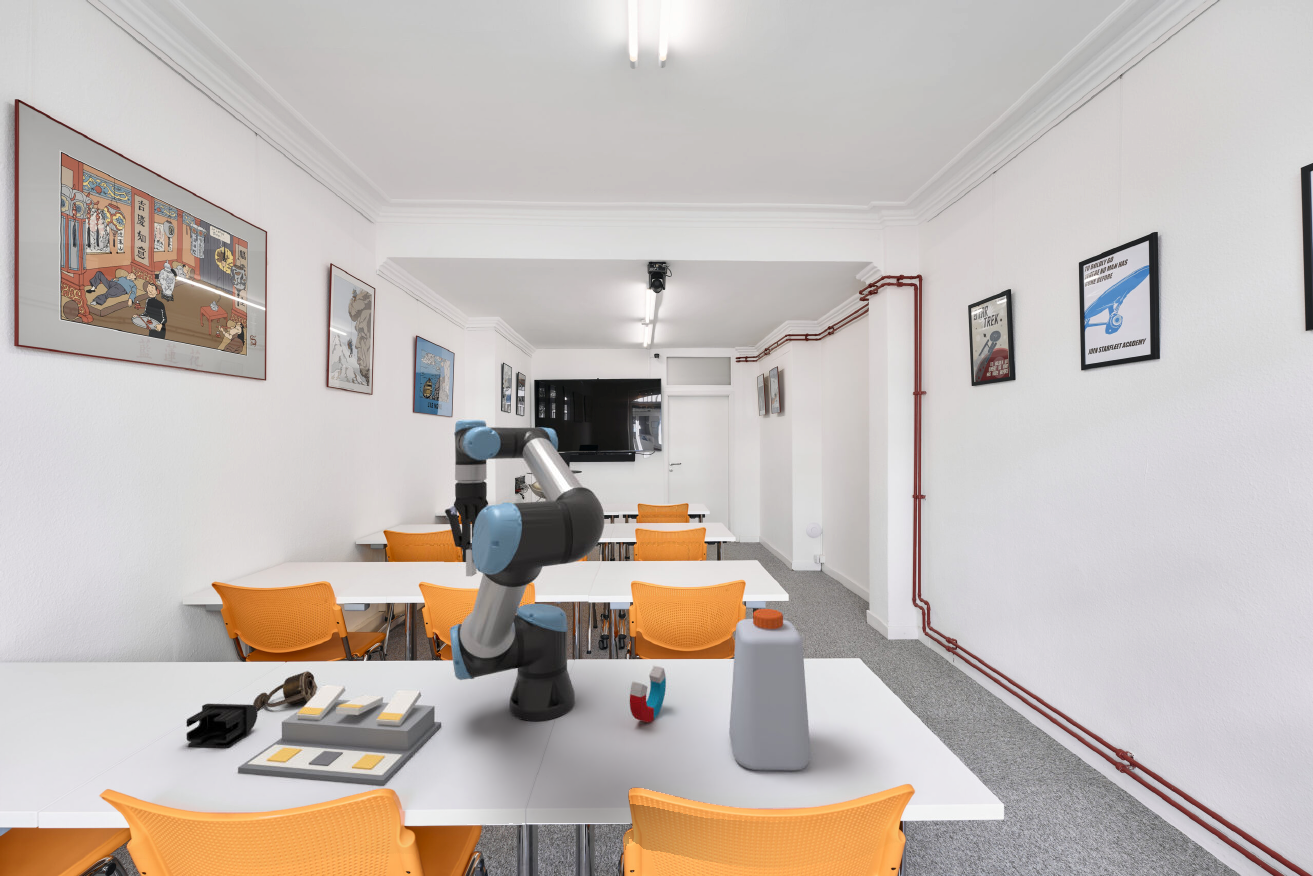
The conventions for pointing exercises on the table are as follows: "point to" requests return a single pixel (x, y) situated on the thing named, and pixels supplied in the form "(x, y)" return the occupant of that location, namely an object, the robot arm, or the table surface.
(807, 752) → the plastic bottle
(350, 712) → the rocker middle
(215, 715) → the end cap
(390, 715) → the rocker
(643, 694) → the magnet
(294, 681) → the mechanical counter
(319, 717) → the rocker
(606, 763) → the table surface
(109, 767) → the table surface
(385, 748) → the switch unit
